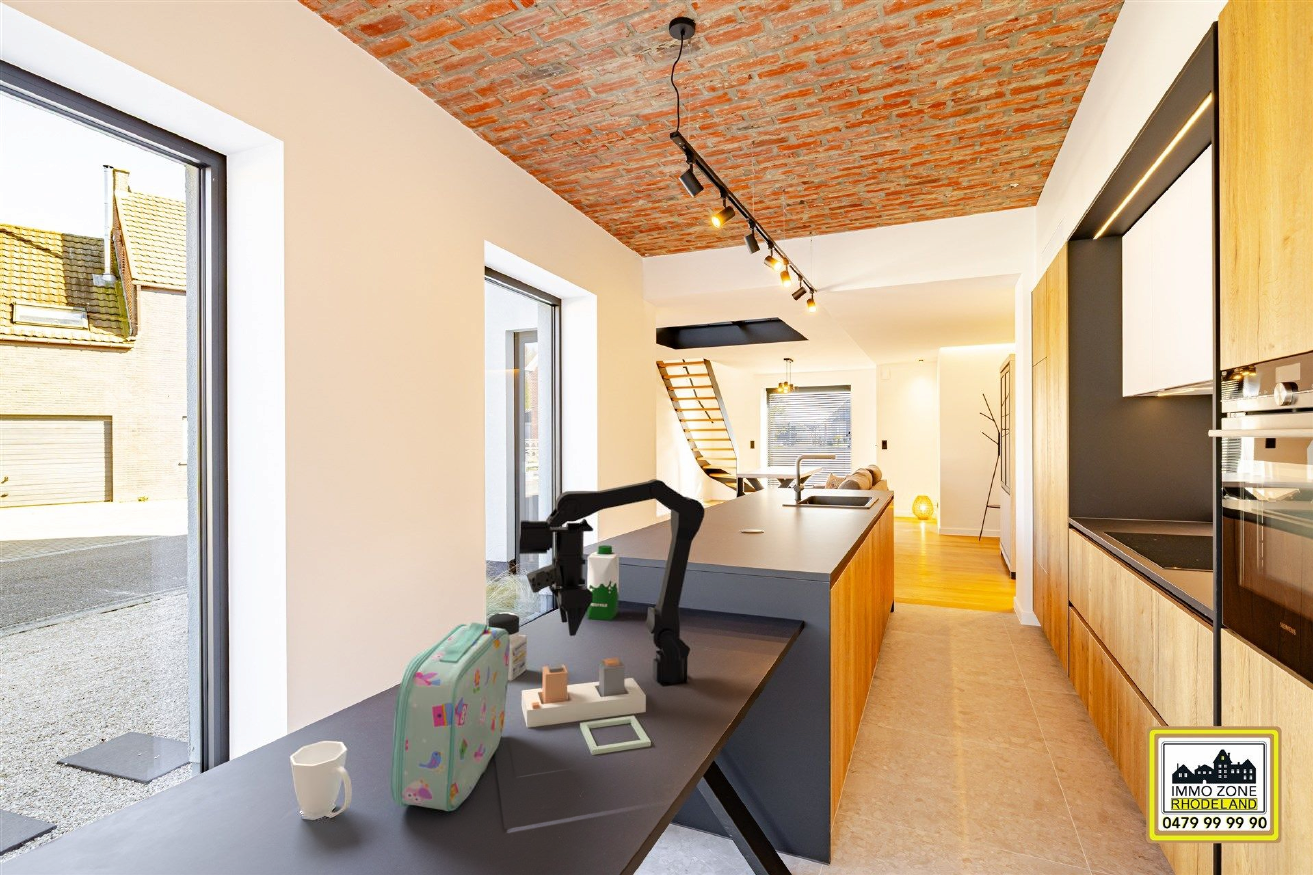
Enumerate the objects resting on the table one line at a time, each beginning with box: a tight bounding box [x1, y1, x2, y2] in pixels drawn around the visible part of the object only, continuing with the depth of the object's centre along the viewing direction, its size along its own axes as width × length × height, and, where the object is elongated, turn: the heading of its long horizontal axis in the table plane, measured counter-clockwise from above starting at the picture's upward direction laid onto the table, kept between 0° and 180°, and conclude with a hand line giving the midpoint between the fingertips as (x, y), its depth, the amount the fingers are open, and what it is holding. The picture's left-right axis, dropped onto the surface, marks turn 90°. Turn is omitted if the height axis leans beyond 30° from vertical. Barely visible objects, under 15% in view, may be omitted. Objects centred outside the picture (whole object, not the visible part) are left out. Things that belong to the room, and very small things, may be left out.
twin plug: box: [598, 657, 626, 697], centre depth 118 cm, size 4×4×9 cm
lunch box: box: [390, 622, 510, 812], centre depth 95 cm, size 27×10×21 cm, turn 178°
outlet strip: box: [521, 677, 647, 728], centre depth 116 cm, size 22×9×4 cm, turn 108°
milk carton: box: [586, 544, 620, 621], centre depth 179 cm, size 9×9×20 cm
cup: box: [289, 740, 353, 819], centre depth 84 cm, size 7×10×8 cm
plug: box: [541, 663, 569, 704], centre depth 114 cm, size 4×4×9 cm
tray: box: [579, 715, 652, 756], centre depth 106 cm, size 10×10×1 cm
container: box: [487, 611, 528, 681], centre depth 134 cm, size 8×8×13 cm
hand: (568, 628), depth 126 cm, fingers open, 9 cm apart
